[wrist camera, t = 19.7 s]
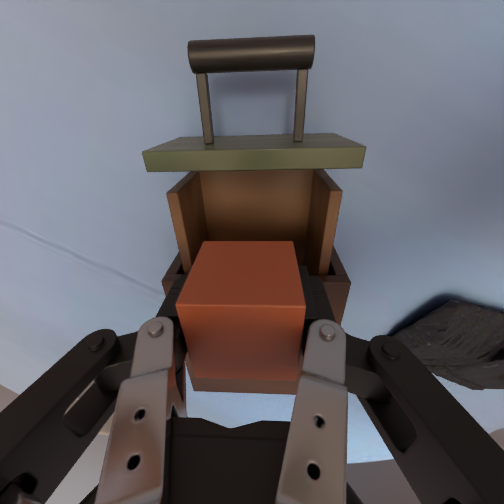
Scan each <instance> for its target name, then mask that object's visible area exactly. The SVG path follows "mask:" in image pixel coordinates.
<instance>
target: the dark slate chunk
mask: <svg viewBox="0 0 504 504" xmlns="http://www.w3.org/2000/svg"><path fill="white" fill-rule="evenodd" d="M392 337H393V338H395V339H397V340H399V341H401V342H402V343H403V344H404V345H405V346H407V347H408V349H409V350H410V351H411V352H412V353H413V354H414V355H415V356H416V357H417V358H418V359H419V360H420V361H421V363H422V364H423V365H424V366H425V367H426V368H427V369H428V370H429V371H430V372H431V373H434V374H435V375H436V376H440V377H442V378H445V379H447V380H449V381H451V382H455V383H457V384H459V385H462V386H465V387H467V388H469V389H472V390H484V389H504V312H499V311H497V310H492V309H488V308H484V307H481V306H477V305H474V304H471V303H468V302H462V301H455V300H453V301H448V302H446V303H445V304H444V305H442V306H441V307H439V308H437V309H436V310H434V311H432V312H430V313H428V314H427V315H426V316H425V317H423V318H421V319H419V320H418V321H416V322H415V323H414V324H413V325H410V326H408V327H405V328H403V329H402V330H400V331H399V332H397V333H396V334H394V335H393V336H392Z"/></svg>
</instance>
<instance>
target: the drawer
mask: <svg viewBox="0 0 504 504" xmlns="http://www.w3.org/2000/svg"><path fill="white" fill-rule="evenodd" d="M314 53H315V36H314V35H294V36H274V37H254V38H234V39H213V40H193V41H189V42H188V58H189V63H190V67H191V70H192V72H193V73H194V74H196V80H197V88H198V96H199V104H200V112H201V120H202V128H203V136H204V137H179V138H177V139H174V140H171V141H169V142H166V143H163V144H161V145H158V146H156V147H153V148H150V149H148V150H145V151H143V152H142V155H143V159H144V162H145V166H146V170H147V172H177V171H191V172H189V173H188V174H187V175H186V176H185V177H184V178H183V179H182V180H180V181H179V182H178V183H177V184H176V185H175V186H174V187H173V188H171V189H170V190H169V191H168V192H167V193H166V194H167V199H168V203H169V208H170V212H171V217H172V221H173V226H174V230H175V234H176V239H177V243H178V248H179V252H180V257H181V261H182V265H183V270H184V274H187V273H188V271H189V269H190V267H191V265H193V264H194V262H195V260H196V257H197V255H198V253H199V251H200V248H201V246H202V244H203V242H204V241H293V244H294V249H295V254H296V259H297V264H298V266H306V267H307V271H308V275H328V270H329V265H330V259H331V253H332V248H333V242H334V236H335V231H336V225H337V220H338V214H339V208H340V203H341V197H342V190H341V189H340V188H339V186H338V185H337V184H336V183H335V182H334V181H333V180H332V179H331V178H330V176H329V175H328V174H327V173H326V172H325V171H324V170H323V169H345V168H362V165H363V160H364V156H365V151H366V146H363V145H361V144H359V143H356V142H354V141H351V140H349V139H347V138H344V137H342V136H339V135H337V134H335V133H321V134H303V131H304V119H305V106H306V93H307V80H308V69H311V68H312V65H313V60H314ZM278 70H297V79H296V96H295V113H294V131H293V134H282V135H244V136H214V134H213V124H212V114H211V105H210V95H209V85H208V75H207V74H206V73H230V72H254V71H278Z"/></svg>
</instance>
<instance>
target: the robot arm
mask: <svg viewBox="0 0 504 504" xmlns="http://www.w3.org/2000/svg"><path fill="white" fill-rule="evenodd" d="M192 266H193V265H191V267H190V269H189V271H188V273H187V274H181V275H180V276H179V277H178V278H177V279H176V280H174V282H173V284H172V286H171V289H170V290H169V292H168V295H167V296H166V298H165V300H164V302H163V304H162V306H161V307H160V309H159V311H158V313H157V315H156V317H155V318H152V319H150V320H148V321H147V322H145V323H144V324H143V325H142V326H141V327H140V329H139V331H137V332H134V333H130V334H126V335H122V336H118V337H117V335H116V333H115V332H114V331H113V330H110V329H101V330H98V331H95V332H93V333H91V334H89V335H87V336H86V337H85V338H83V339H82V340H81V341H80V342H79V343H78V344H77V345H76V346H74V347H73V348H72V349H71V350H70V351H69V352H68V353H67V354H65V355H64V356H63V357H62V358H61V359H60V360H59V361H58V362H56V363H55V364H54V365H53V366H52V367H51V368H50V369H49V370H47V371H46V372H45V373H44V374H43V375H42V376H41V377H40V378H38V379H37V380H36V381H35V382H34V383H33V384H32V385H31V386H30V387H28V388H27V389H26V390H25V391H24V392H23V393H22V394H21V395H19V396H18V397H17V398H16V399H15V400H14V401H13V402H12V403H10V405H8V406H7V407H6V408H5V409H4V410H3V411H2V412H0V504H45V502H46V501H47V500H48V498H49V497H50V496H51V495H52V493H53V492H54V491H55V489H56V488H57V487H58V485H59V484H60V483H61V481H62V480H63V479H64V477H65V476H66V475H67V474H68V472H69V471H70V470H71V468H72V467H73V466H74V464H75V463H76V462H77V460H78V459H79V458H80V456H81V455H82V454H83V452H84V451H85V450H86V448H87V447H88V446H89V444H90V443H91V442H92V441H93V439H94V438H95V437H96V435H97V434H98V433H99V431H100V430H101V429H102V427H103V426H104V425H105V423H106V422H107V421H108V419H109V418H110V417H111V415H112V414H113V413H114V416H113V420H112V425H111V430H110V434H109V439H108V444H107V449H106V453H105V458H104V463H103V467H102V471H101V476H100V481H99V484H98V485H97V486H96V487H95V488H94V489H93V490H92V491H91V492H90V493H89V494H88V495H87V496H86V497H85V498H84V499H83V500H82V501H81V502H80V503H79V504H363V503H362V501H361V500H360V499H359V497H358V496H357V494H356V493H355V492H354V490H353V489H352V488H351V486H350V485H349V484H348V482H347V481H346V480H347V477H346V475H347V421H348V392H350V393H353V394H356V395H357V397H358V399H359V401H360V402H361V404H362V406H363V407H364V409H365V411H366V412H367V414H368V416H369V417H370V419H371V421H372V422H373V424H374V426H375V427H376V429H377V431H378V432H379V434H380V436H381V437H382V439H383V441H384V442H385V444H386V446H387V447H388V449H389V451H390V452H391V454H392V456H393V457H394V459H395V460H396V462H397V464H398V466H399V467H400V469H401V471H402V472H403V474H404V476H405V477H406V479H407V481H408V482H409V484H410V486H411V487H412V489H413V491H414V492H415V494H416V496H417V497H418V499H419V500H420V502H421V504H504V450H503V449H502V448H501V447H500V446H499V445H498V444H497V443H496V442H495V441H494V440H493V439H492V438H491V437H490V435H489V434H488V433H487V432H486V431H485V430H484V429H483V428H482V427H481V426H480V425H479V424H478V423H477V422H476V420H475V419H474V418H473V417H472V416H471V415H470V414H469V413H468V412H467V411H466V410H465V409H464V408H463V406H462V405H461V404H460V403H459V402H458V401H457V400H456V399H455V398H454V397H453V396H452V395H451V394H450V393H449V391H448V390H447V389H446V388H445V387H444V386H443V385H442V384H441V383H440V382H439V381H438V380H437V379H436V378H435V376H434V375H433V374H432V373H431V372H430V371H429V370H428V369H427V368H426V367H425V366H424V365H423V364H422V363H421V361H420V360H419V359H418V358H417V357H416V356H415V355H414V354H413V353H412V352H411V351H410V350H409V349H408V347H407V346H405V345H404V344H403V343H402V342H401V341H399V340H397V339H395V338H393V337H390V336H386V335H379V336H375V337H373V338H372V339H371V341H366V340H363V339H359V338H356V337H353V336H351V335H349V334H347V333H345V331H344V329H343V328H342V327H341V326H340V325H339V324H337V323H336V320H335V317H334V314H333V311H332V308H331V305H330V302H329V299H328V297H327V293H326V291H325V287H324V284H323V282H322V281H321V280H320V279H319V278H318V276H309V275H308V271H307V267H306V266H298V269H299V274H300V279H301V284H302V289H303V293H304V298H305V303H306V311H305V319H304V327H303V334H302V342H301V350H300V356H303V364H302V369H301V372H300V377H299V382H298V387H297V392H296V397H295V402H294V407H293V413H292V418H291V422H288V421H258V422H255V423H251V424H247V425H243V426H239V427H236V428H226V427H224V426H221V425H218V424H216V423H213V422H210V421H207V420H205V419H202V418H188V416H187V409H186V373H185V362H184V361H185V357H186V354H187V352H188V349H187V346H186V342H185V338H184V335H183V331H182V327H181V324H180V320H179V316H178V313H177V309H176V305H175V304H176V302H177V300H178V297H179V295H180V293H181V291H182V288H183V286H184V284H185V282H186V280H187V277H188V275H189V273H190V271H191V268H192ZM93 380H94V383H93V384H92V385H91V386H90V388H89V389H88V390H87V391H86V392H85V393H84V394H83V395H82V396H81V397H80V399H79V400H78V401H77V402H76V403H75V404H74V405H73V406H72V407H71V409H70V410H69V411H68V412H67V413H66V414H65V412H66V410H67V409H68V407H69V406H70V405H71V404H72V403H73V402H74V401H75V400H76V399H77V397H78V396H79V395H80V394H81V393H82V392H83V391H84V390H85V389H86V388H87V387H88V385H89V384H90V383H91V382H92V381H93ZM64 414H65V415H64Z"/></svg>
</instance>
